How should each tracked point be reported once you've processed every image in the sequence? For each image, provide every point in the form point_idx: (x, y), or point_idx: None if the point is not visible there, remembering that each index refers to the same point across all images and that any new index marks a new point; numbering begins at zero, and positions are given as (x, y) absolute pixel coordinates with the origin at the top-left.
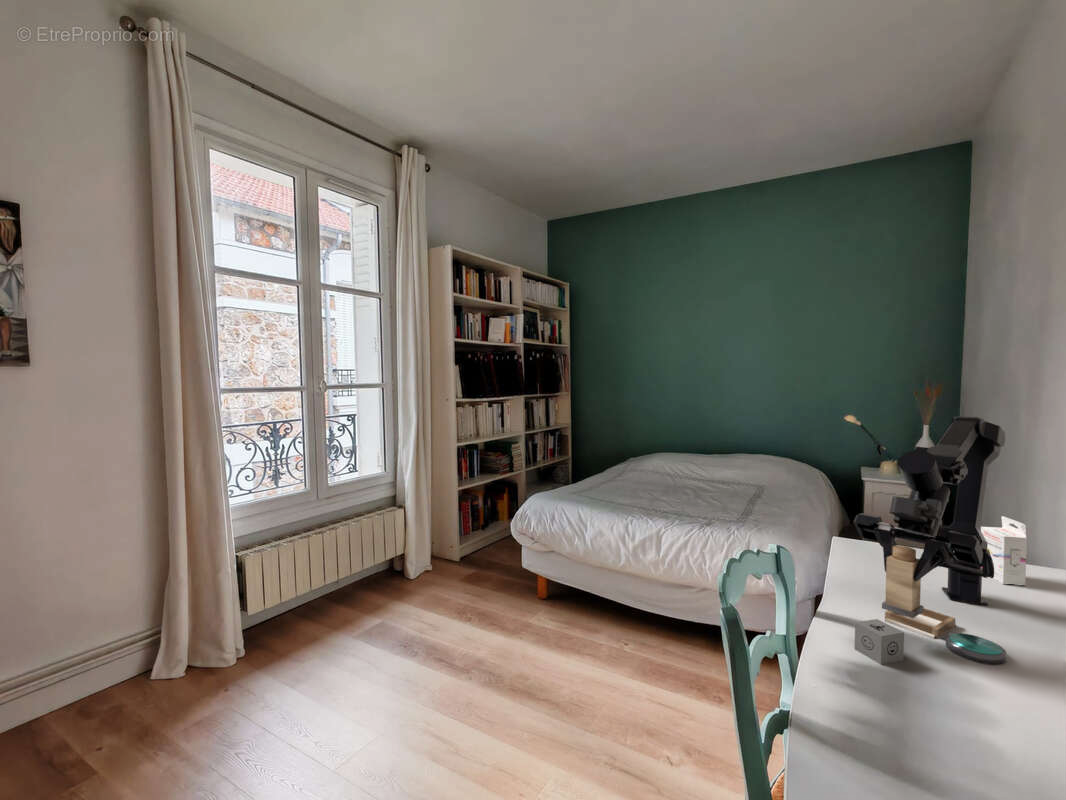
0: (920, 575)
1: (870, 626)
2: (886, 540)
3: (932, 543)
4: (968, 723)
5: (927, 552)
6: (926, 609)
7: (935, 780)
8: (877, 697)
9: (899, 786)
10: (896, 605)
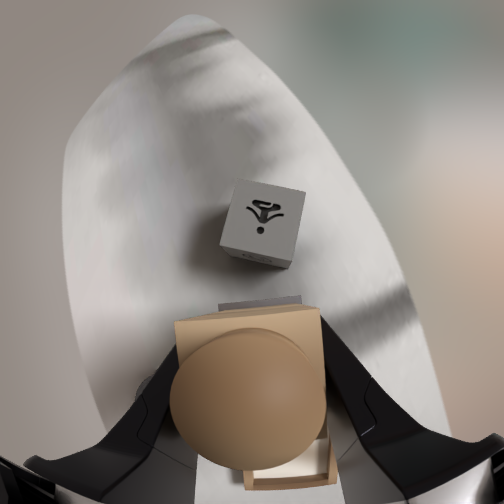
0: None
1: (275, 202)
2: (397, 442)
3: (75, 473)
4: (118, 164)
5: (129, 445)
6: (294, 487)
7: (129, 70)
8: (202, 115)
9: (146, 48)
10: (264, 306)
